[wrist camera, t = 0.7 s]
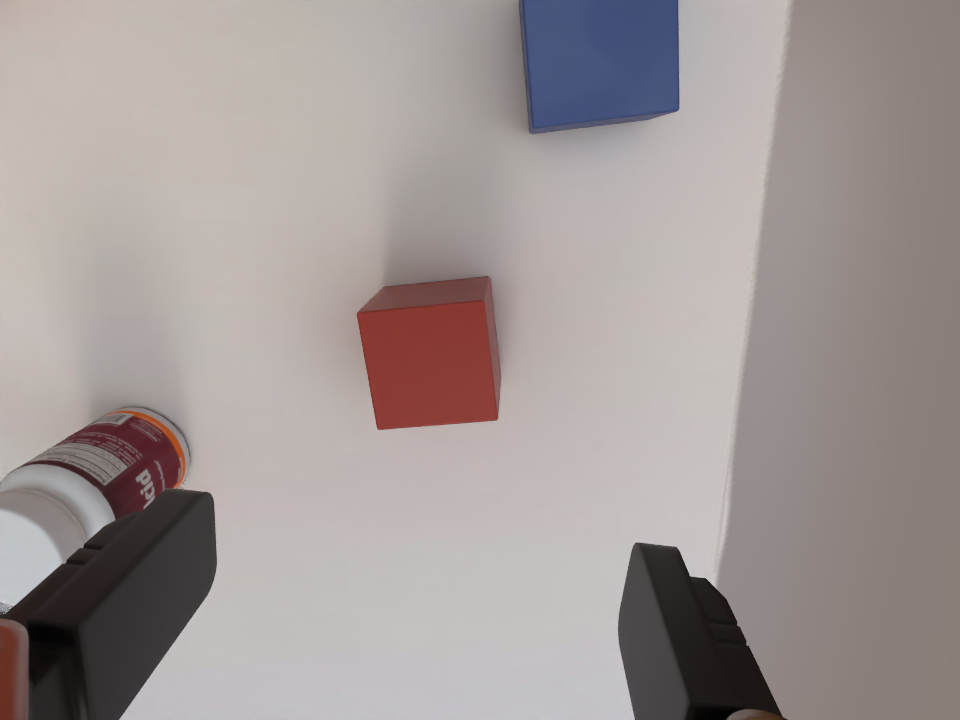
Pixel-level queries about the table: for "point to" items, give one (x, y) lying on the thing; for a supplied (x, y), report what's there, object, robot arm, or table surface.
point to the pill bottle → (83, 492)
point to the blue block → (599, 61)
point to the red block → (432, 353)
